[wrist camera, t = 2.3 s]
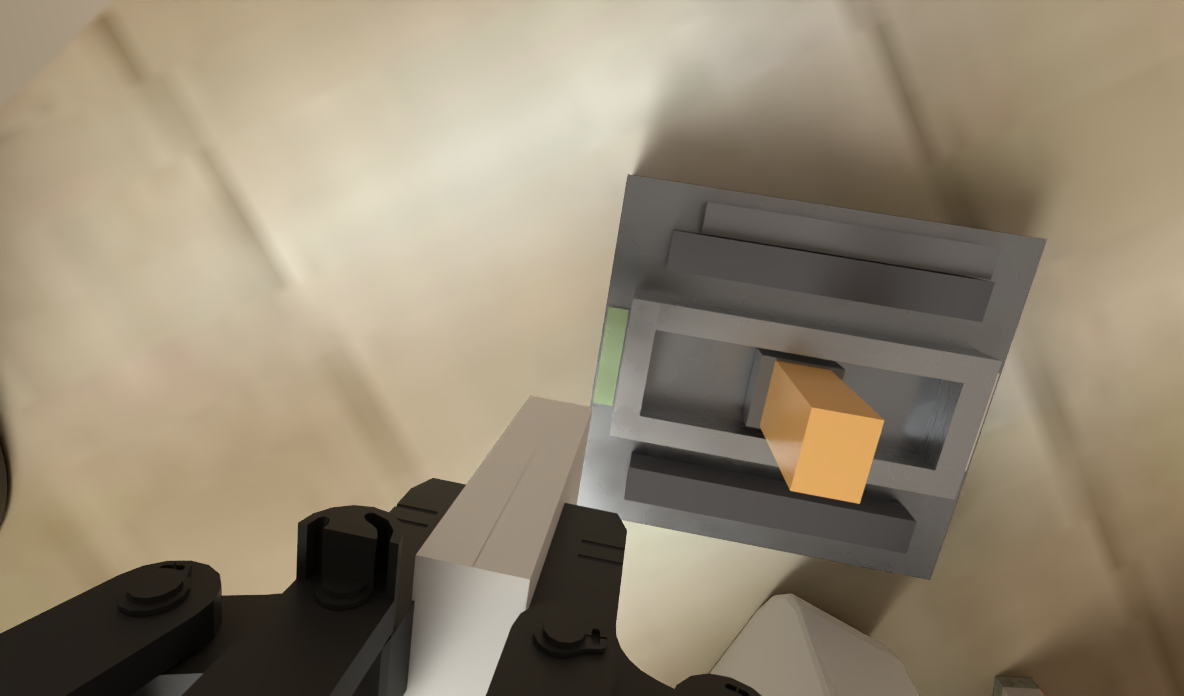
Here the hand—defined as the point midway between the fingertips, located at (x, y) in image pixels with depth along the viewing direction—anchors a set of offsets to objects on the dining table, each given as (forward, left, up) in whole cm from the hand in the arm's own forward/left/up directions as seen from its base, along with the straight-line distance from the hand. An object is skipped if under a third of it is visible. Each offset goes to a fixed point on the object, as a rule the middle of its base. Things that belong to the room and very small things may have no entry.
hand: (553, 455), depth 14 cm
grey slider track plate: (+8, +1, -10) cm, 12 cm away
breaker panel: (+8, 0, -13) cm, 15 cm away
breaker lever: (+8, 0, -10) cm, 12 cm away
